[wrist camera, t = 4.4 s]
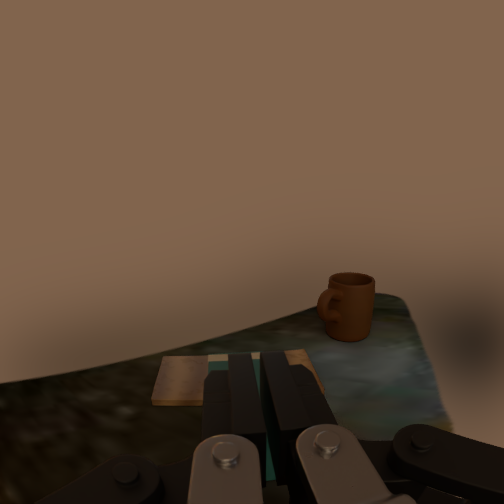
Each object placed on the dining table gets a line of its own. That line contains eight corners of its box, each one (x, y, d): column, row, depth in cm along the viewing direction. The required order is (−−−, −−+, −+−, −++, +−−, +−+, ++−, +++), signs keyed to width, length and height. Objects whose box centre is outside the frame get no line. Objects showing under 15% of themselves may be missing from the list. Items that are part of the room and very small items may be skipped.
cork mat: (152, 405, 32) (150, 399, 32) (164, 361, 42) (163, 356, 41) (323, 395, 34) (324, 389, 33) (303, 354, 43) (304, 348, 43)
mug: (336, 359, 41) (342, 298, 39) (297, 342, 47) (299, 285, 45) (377, 331, 49) (384, 278, 47) (342, 319, 54) (345, 269, 52)
